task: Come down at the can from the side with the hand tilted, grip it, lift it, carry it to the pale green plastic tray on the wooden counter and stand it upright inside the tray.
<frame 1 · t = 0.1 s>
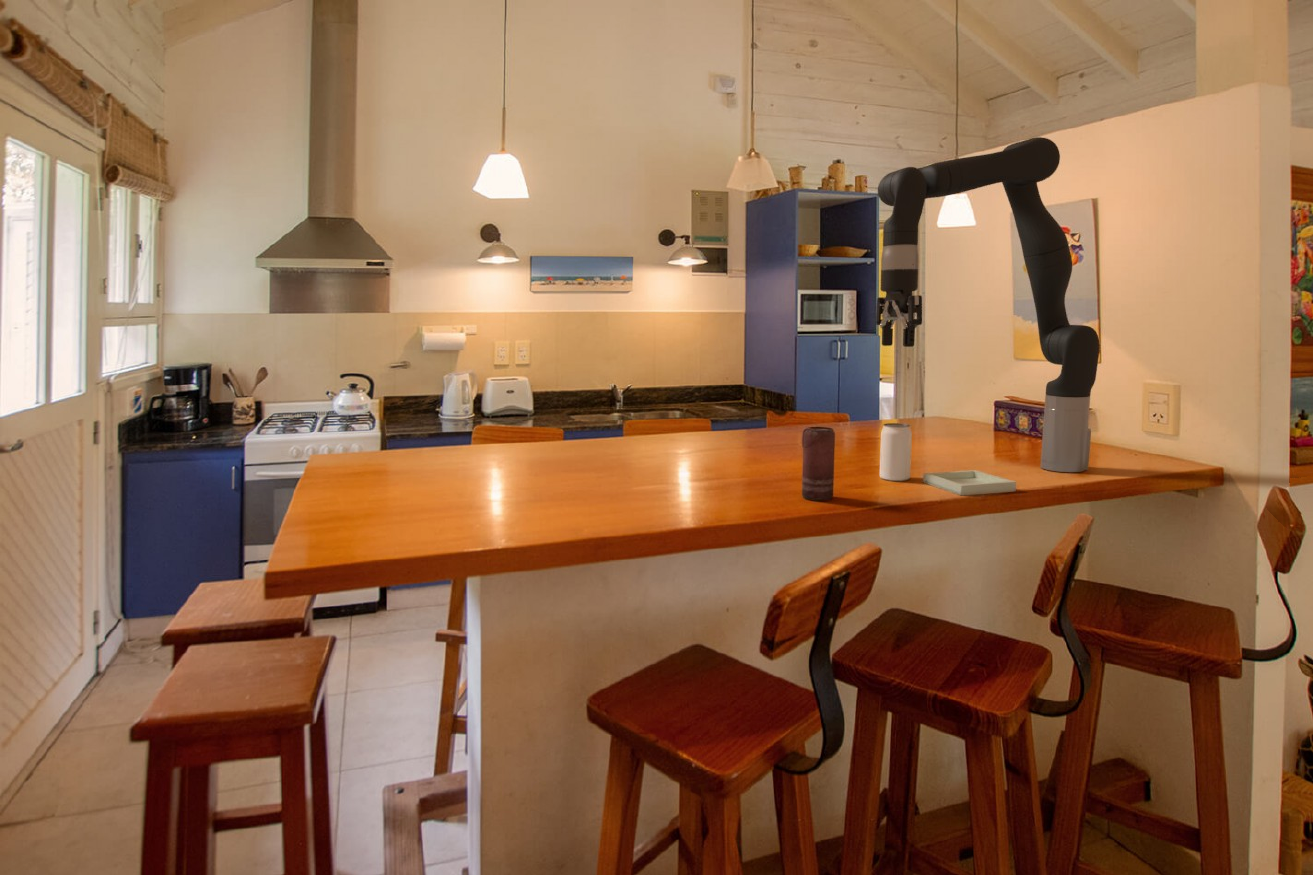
hand: (897, 346, 173), 29 cm above the countertop, tool pointing down, fingers open, 8 cm apart
can: (894, 479, 180), on the countertop
tray: (968, 486, 171), on the countertop
can 2: (816, 498, 162), on the countertop
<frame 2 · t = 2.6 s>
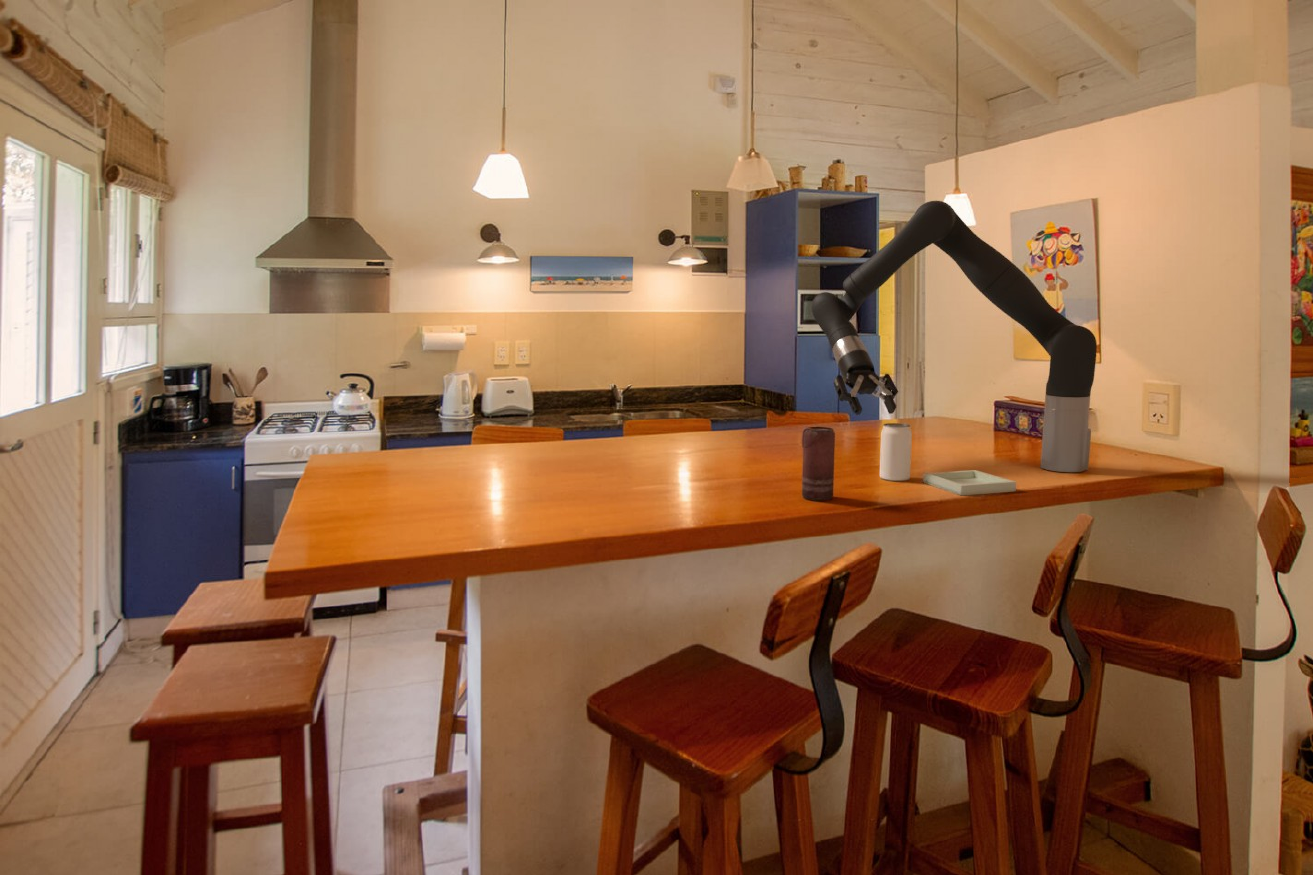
hand: (876, 412, 186), 14 cm above the countertop, tool tilted 45°, fingers open, 8 cm apart
nothing on the countertop moved.
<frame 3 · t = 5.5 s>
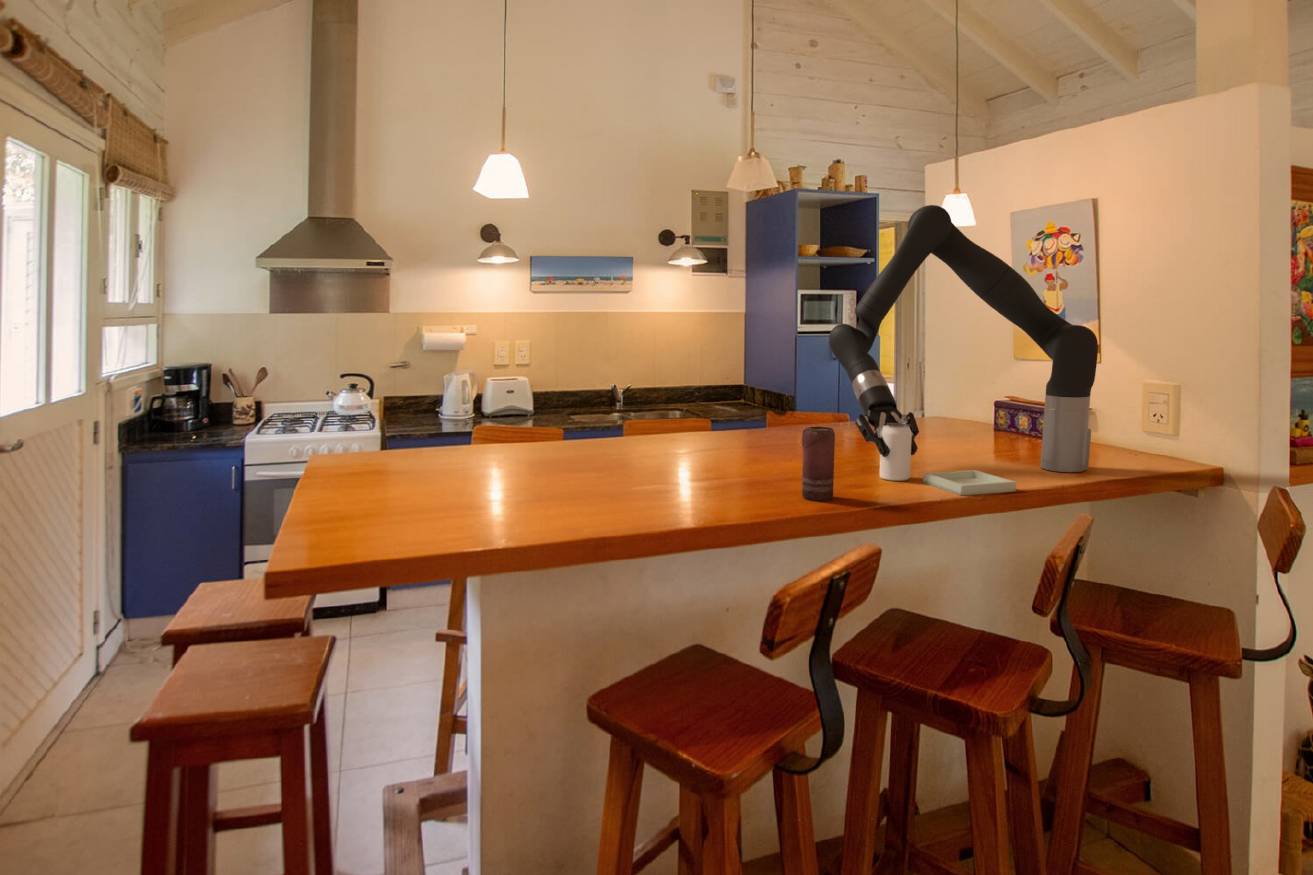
hand: (900, 453, 177), 6 cm above the countertop, tool tilted 45°, fingers closed on can, 6 cm apart
can: (894, 479, 180), on the countertop, touching gripper
everything else where it was.
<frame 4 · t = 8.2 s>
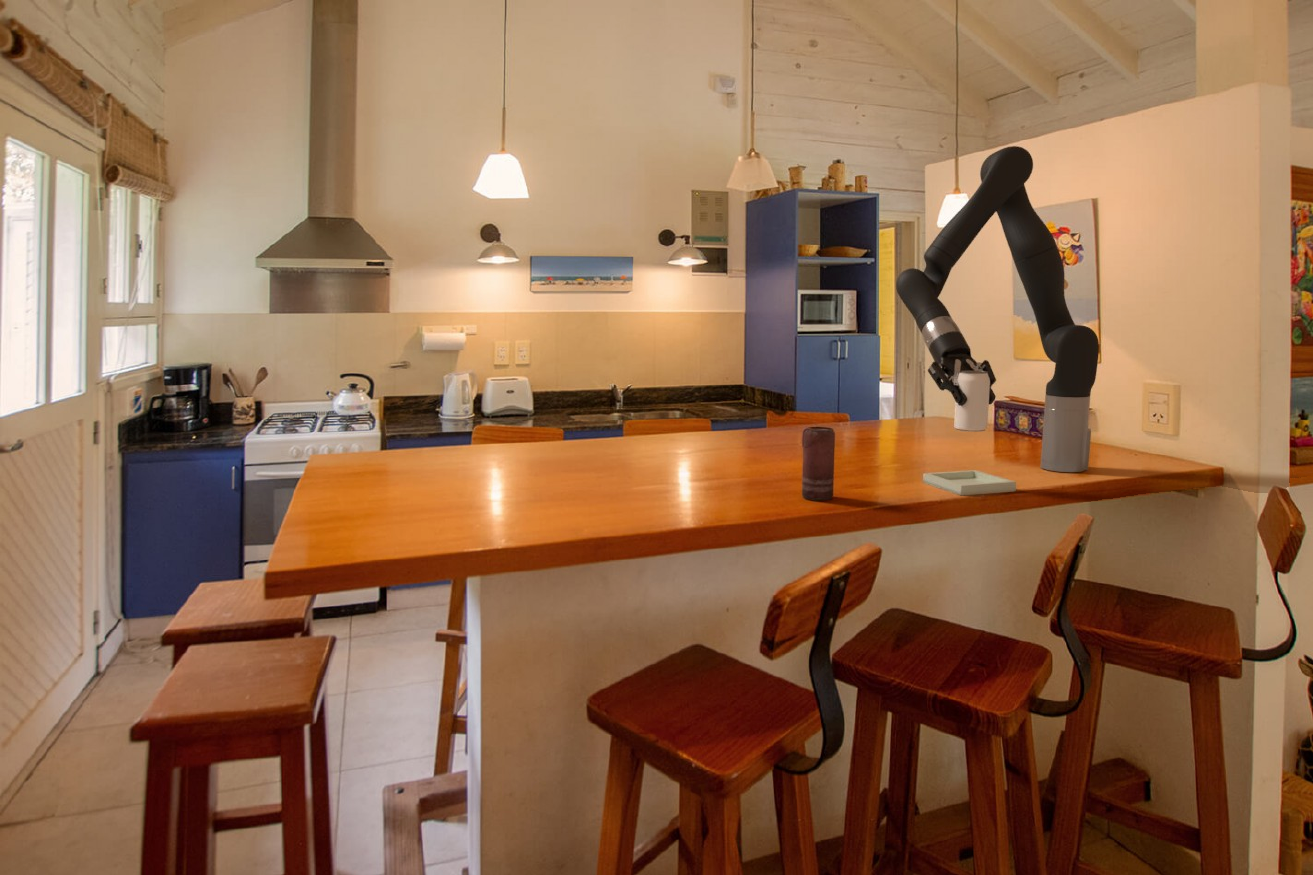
hand: (977, 402, 167), 18 cm above the countertop, tool tilted 45°, fingers closed on can, 6 cm apart
can: (970, 430, 169), point 12 cm above the countertop, touching gripper
everything else where it was.
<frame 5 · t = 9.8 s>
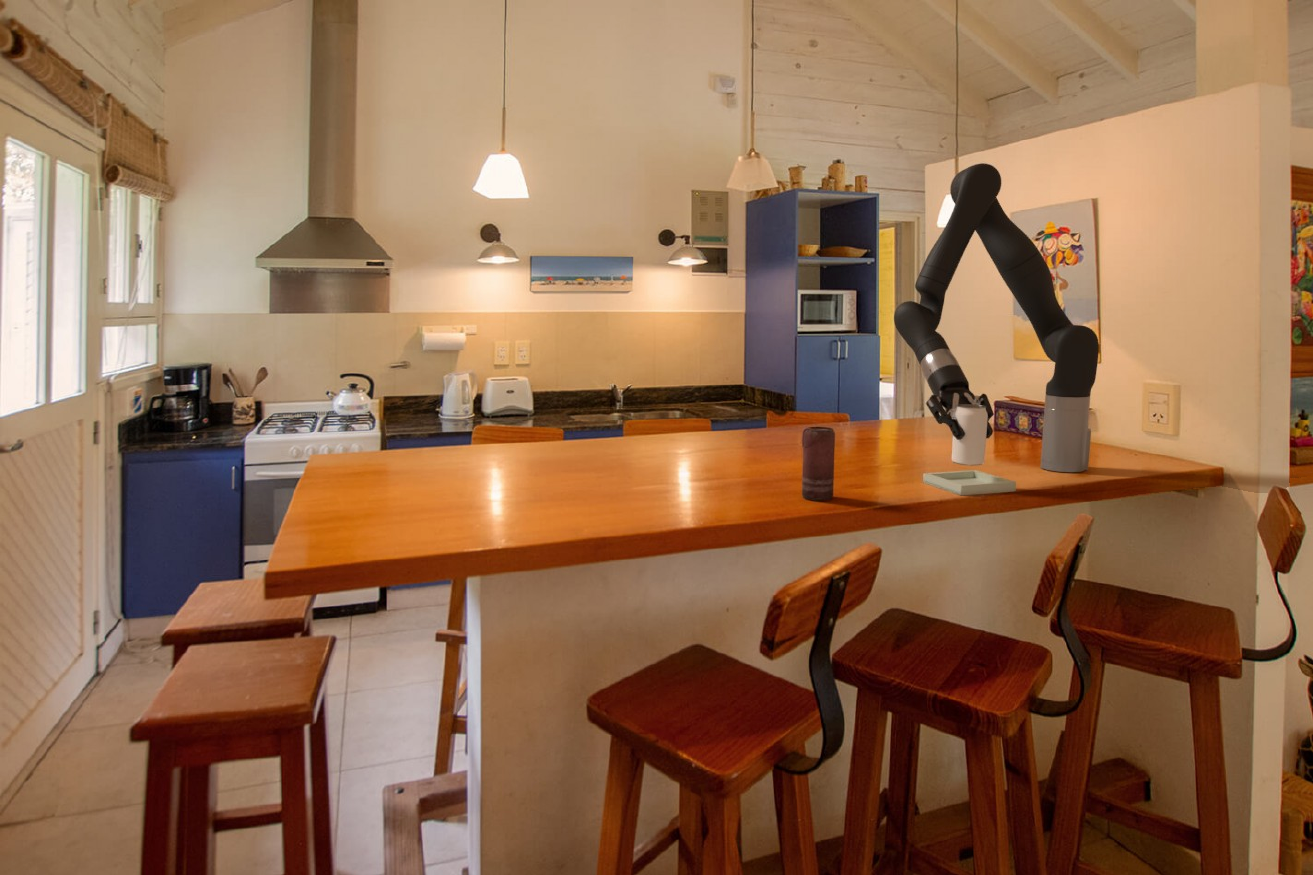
hand: (975, 436, 168), 11 cm above the countertop, tool tilted 45°, fingers closed on can, 6 cm apart
can: (967, 463, 170), point 5 cm above the countertop, touching gripper
everything else where it was.
when the fingers open (8 cm above the countertop, at t = 11.2 s): can drops 1 cm, resting on tray.
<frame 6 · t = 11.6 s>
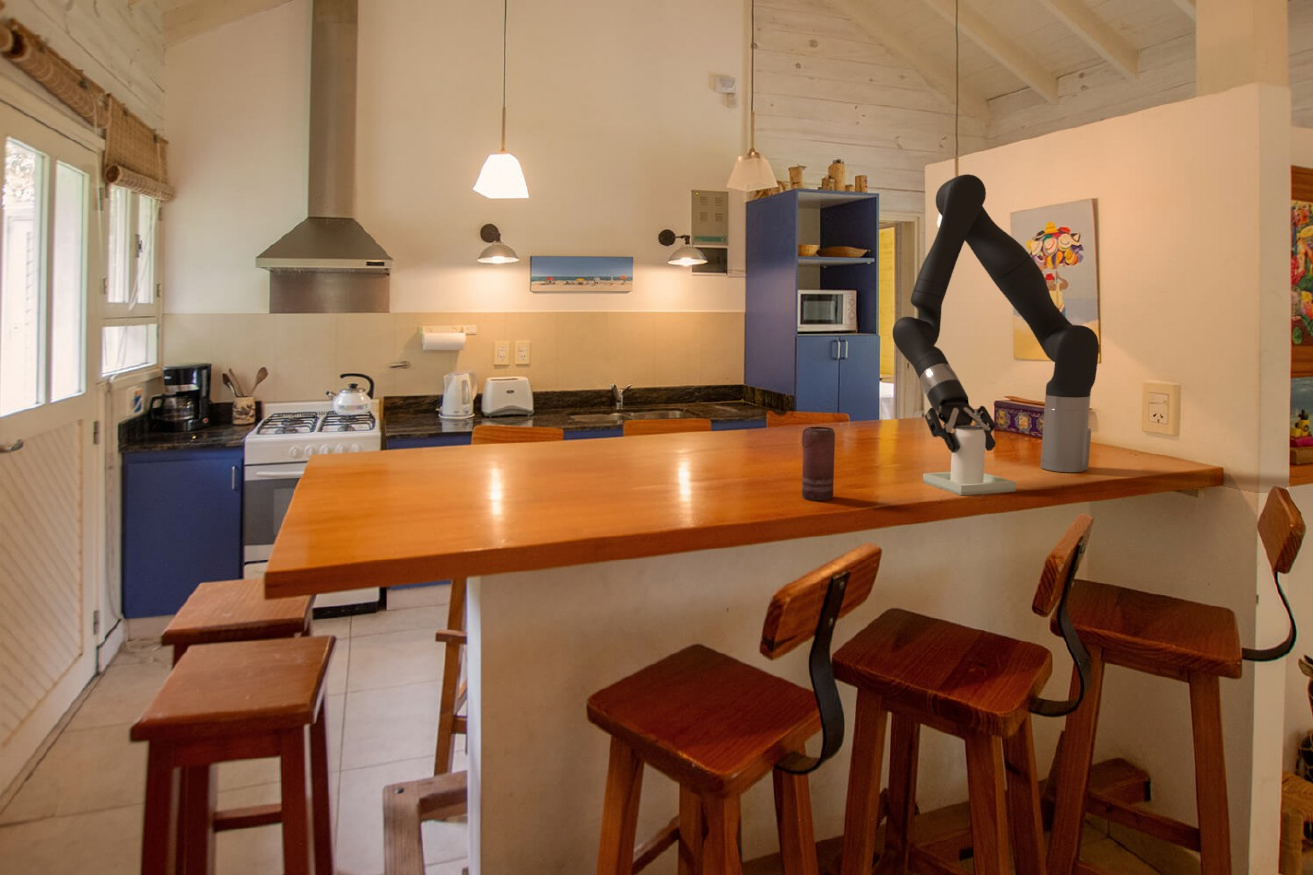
hand: (974, 449, 169), 8 cm above the countertop, tool tilted 45°, fingers open, 8 cm apart
can: (966, 484, 171), resting on tray
everything else where it was.
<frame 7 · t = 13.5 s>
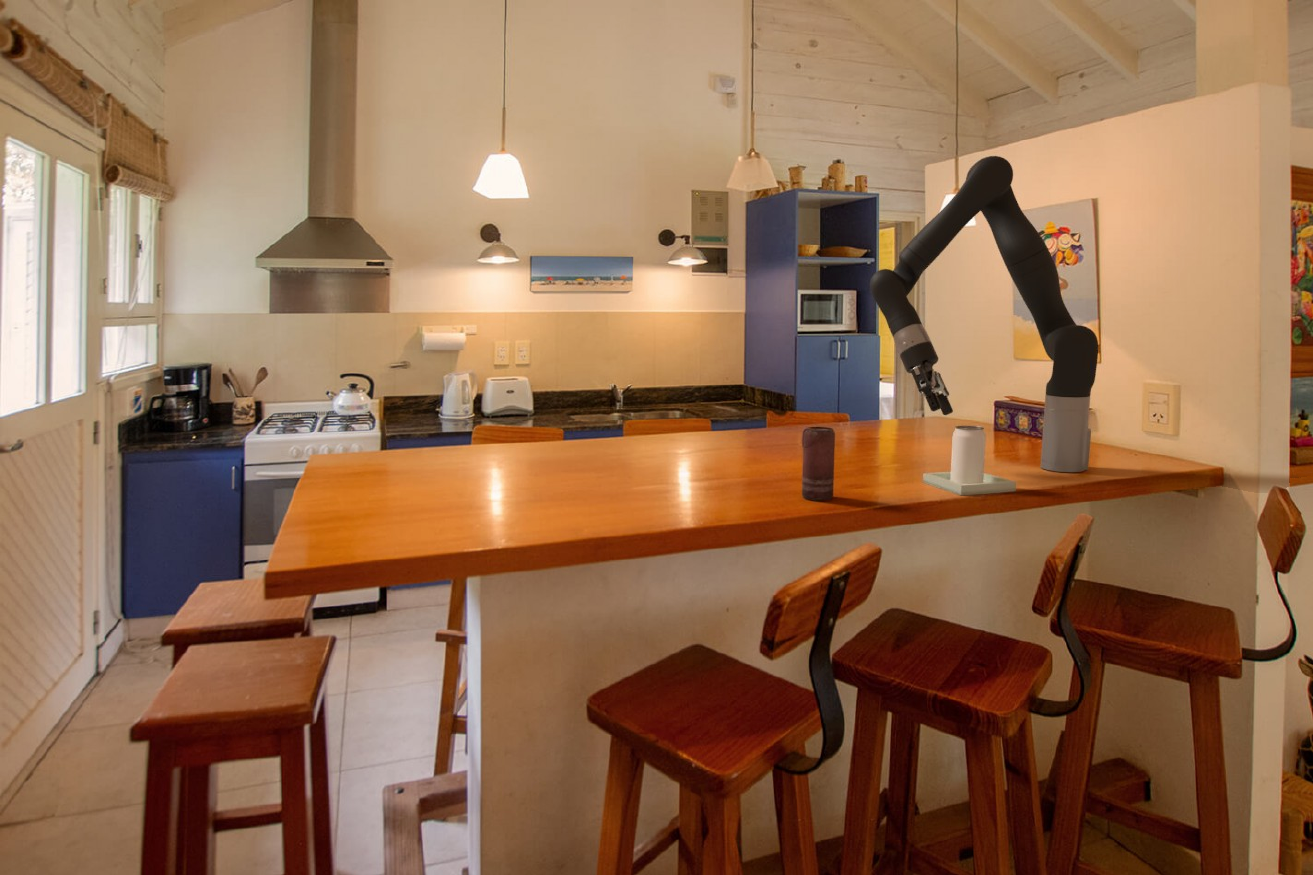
hand: (942, 411, 182), 14 cm above the countertop, tool tilted 30°, fingers open, 8 cm apart
nothing on the countertop moved.
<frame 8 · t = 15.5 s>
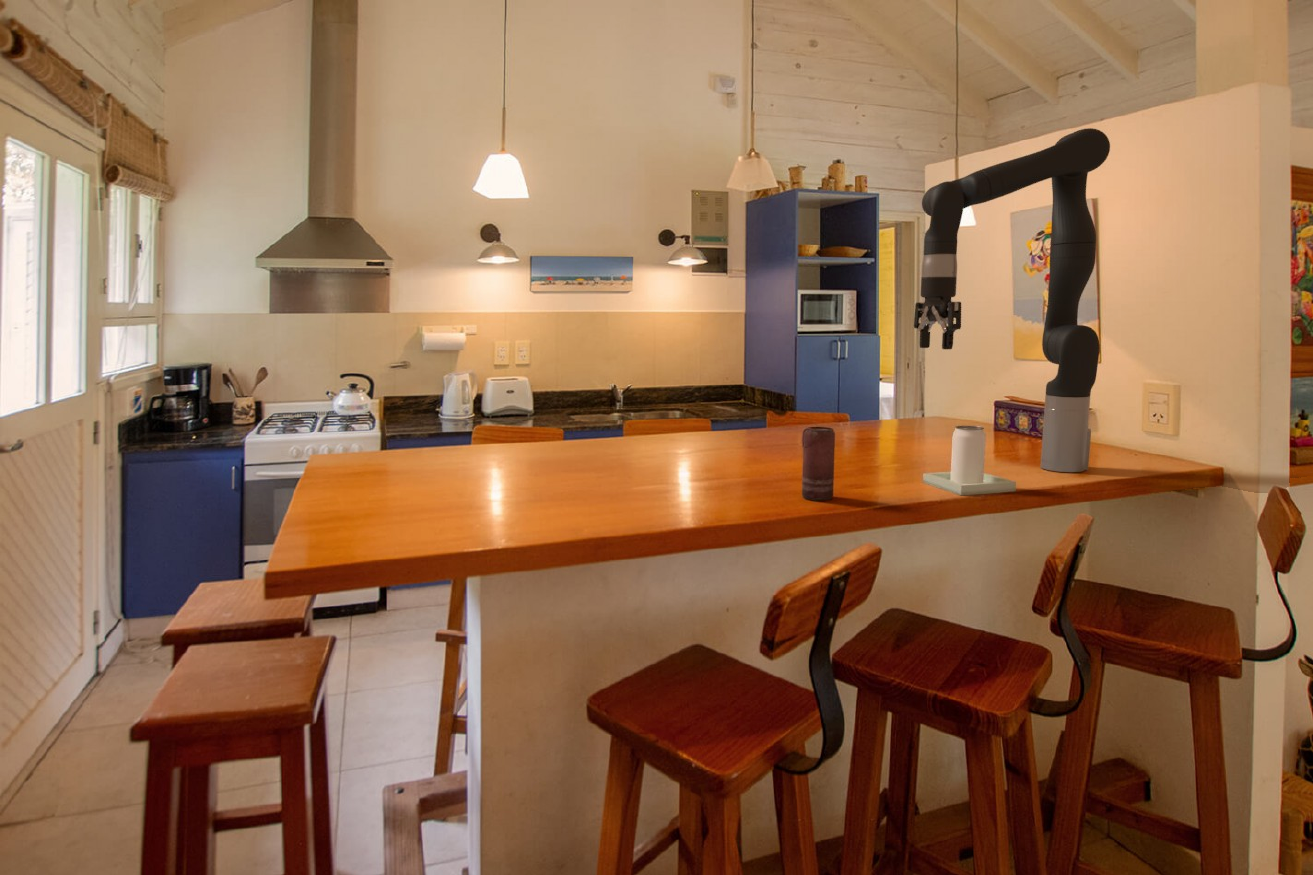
hand: (935, 348, 185), 28 cm above the countertop, tool pointing down, fingers open, 8 cm apart
nothing on the countertop moved.
at the end: can inside the target area on the tray (0.3 cm from its centre), point 0.4 cm above the tray's base; can tilted 0°; the gripper is holding nothing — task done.
